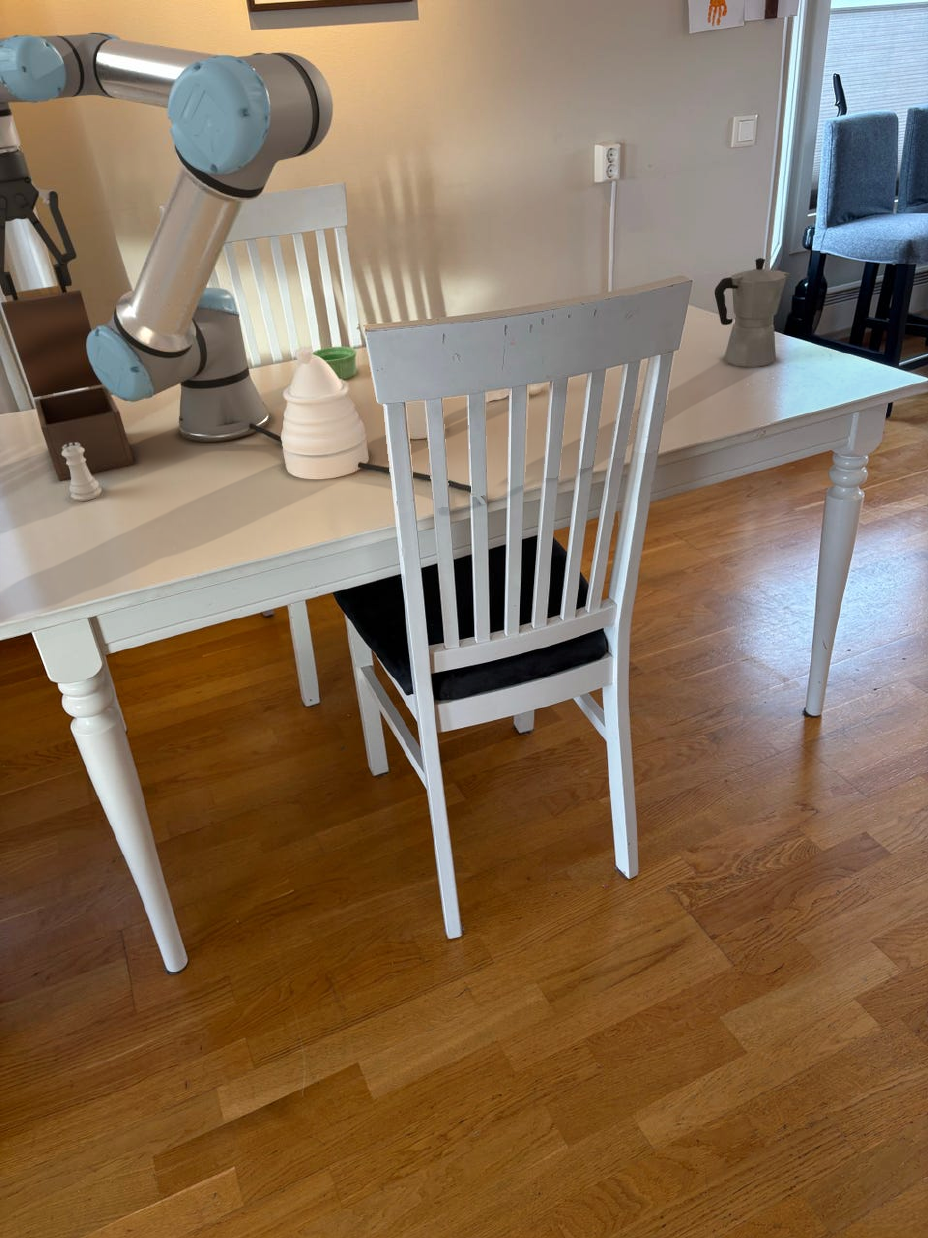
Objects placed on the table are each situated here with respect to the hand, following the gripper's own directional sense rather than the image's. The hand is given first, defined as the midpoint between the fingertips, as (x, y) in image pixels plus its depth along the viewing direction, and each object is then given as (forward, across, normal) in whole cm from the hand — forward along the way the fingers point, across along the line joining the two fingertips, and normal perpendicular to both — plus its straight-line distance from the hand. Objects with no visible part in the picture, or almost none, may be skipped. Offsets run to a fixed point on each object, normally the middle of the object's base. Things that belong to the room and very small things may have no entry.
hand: (45, 311), depth 144 cm
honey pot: (+22, -32, +35) cm, 53 cm away
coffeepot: (+22, -114, +36) cm, 122 cm away
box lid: (+5, 0, +4) cm, 6 cm away
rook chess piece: (+22, +3, +26) cm, 34 cm away
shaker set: (+22, -71, +26) cm, 79 cm away
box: (+22, 0, +9) cm, 24 cm away
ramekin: (+22, -48, -6) cm, 53 cm away
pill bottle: (+22, -50, +32) cm, 63 cm away
